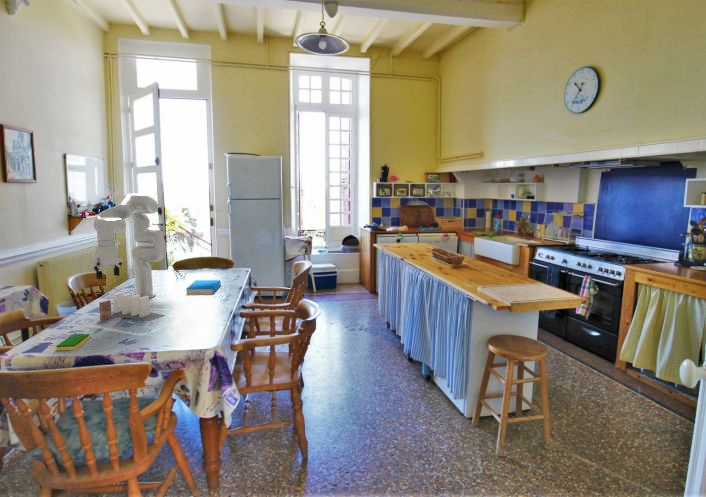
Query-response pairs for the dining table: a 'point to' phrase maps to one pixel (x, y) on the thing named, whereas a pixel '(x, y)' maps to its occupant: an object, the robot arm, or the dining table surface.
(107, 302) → the domino
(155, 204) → the robot arm
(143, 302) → the domino
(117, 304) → the domino
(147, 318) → the mat
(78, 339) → the dish sponge
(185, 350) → the dining table surface
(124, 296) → the domino
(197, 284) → the book
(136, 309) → the domino
